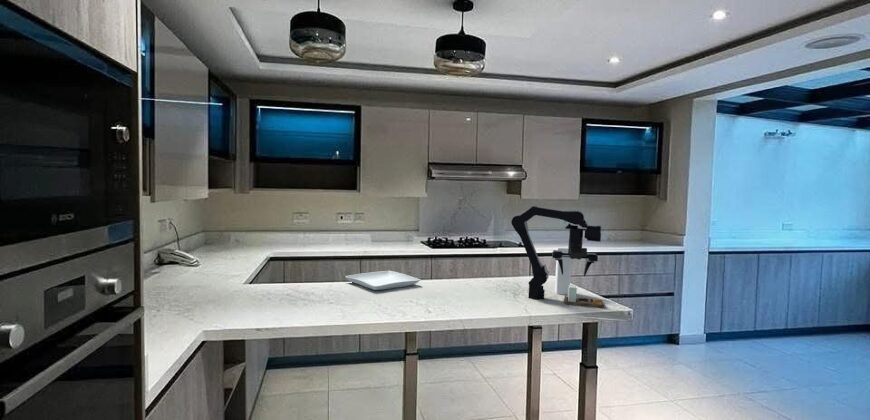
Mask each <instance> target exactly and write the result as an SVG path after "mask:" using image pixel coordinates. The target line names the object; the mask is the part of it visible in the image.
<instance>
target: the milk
mask: <svg viewBox="0 0 870 420" xmlns="http://www.w3.org/2000/svg"><path fill="white" fill-rule="evenodd" d="M557 250H558V251H562V253H568V248H567V247H566V248H564V247H558V248H557ZM572 260H573V259H571V258H570V257H562V261H563V275H562V272H561V268H560V265H559V262H558V260H555V278H554V279H555V280H554V293H555V294H556V295H564V296H566V295H567V296H568V289H569V285H571V279H572V278H571V276H572V275H571V274H572V273H571V272H572Z"/></svg>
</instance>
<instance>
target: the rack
mask: <svg viewBox="0 0 870 420" xmlns="http://www.w3.org/2000/svg"><path fill="white" fill-rule="evenodd" d="M563 303H564V306H575V307H585V308H598V309H606V307H605V303H604V302H603V299H600V298H599V299H598V298H589V297H577V296H576V302H569V301H568V295H567V296H566V295H564V297H563Z"/></svg>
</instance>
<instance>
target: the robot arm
mask: <svg viewBox="0 0 870 420" xmlns="http://www.w3.org/2000/svg"><path fill="white" fill-rule="evenodd" d="M536 216H539V217H545V218H551V219H555V220H556V219H557V220H563V221H565V222H567V223H568V224H567V225H566V226H565V227H564V229H566V230H569V232H568V233H569V234H568V253H562V251H558V249H557V250H555V249H554V250H553V251H552V255H551V256H552V257H551V259H555V261H556V260H558V262H559V265H560V268H561V272H562V275H563V261H562V257H570V258H571V259H572V260H582V259H585V263H584V270H583V277H584V278H585V277H586V275H587V273H588V270H589V268H590V267H591V265H592V264H595V262H599V261H598V260H599V256H598V254H597V253H596V252H595V253H594V252H588V248H587V247H583V242H584V241H583V240H584V239H586V241H587V242H599V243H601V239H602V238H601V237H602V226H601V225H590V224H588V222H587V221H586V220H585V214H584V212H582V211H581V210H559V209H553V208H548V207H541V206H537V205H534V206H531V207H529V209H527V210H526V211H524V212H523V213H522V214H517V215H515V216H514V217H512V219H511V226H512V227H513V229H514V231H515V232H516V233H517V234H518V236H519V237H520V239H521V242H522V245H523V248H524V249H525V253H526V254H527V256H528V257H527V258H528V260H529V263H530V265H531V271H532V272H531V273H532V278H531V279H530V280H529V282H528V299H531V300H538V301H539V300H545V290H546V289H545V288H544V284H546V282H547V280H548V279H549V277H550V276H549V273H550V271H549V270H548V267H547V264H546V263H545V264H543V263H542V262H541V260H540V258H539V256H538V253H537V251H536V248H535V246H534V243H533V240H532V238H531V236H530V232H529V226H528V221H530V219H532V218H534V217H536ZM579 226H580V227H579Z"/></svg>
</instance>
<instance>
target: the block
mask: <svg viewBox="0 0 870 420" xmlns="http://www.w3.org/2000/svg"><path fill="white" fill-rule="evenodd" d="M577 289H578V287H577V285H575V284H570V285H569V289H568V295H567V297H568V301H569V302H576V297H577V291H578V290H577Z"/></svg>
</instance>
